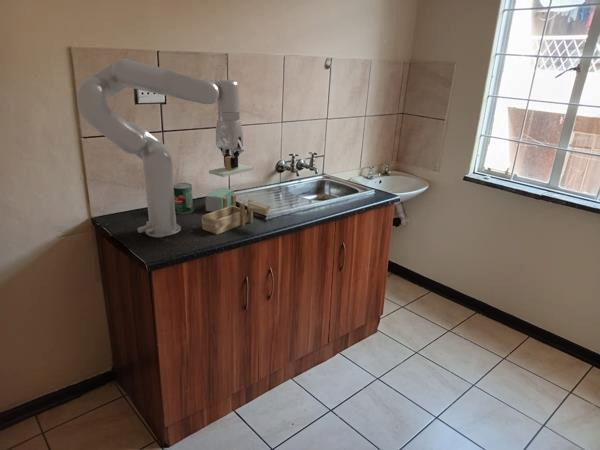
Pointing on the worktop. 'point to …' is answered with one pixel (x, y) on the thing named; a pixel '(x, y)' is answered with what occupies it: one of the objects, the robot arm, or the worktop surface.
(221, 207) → the box
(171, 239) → the worktop surface
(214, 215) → the toolbox
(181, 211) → the canned tomato
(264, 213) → the tan wooden block
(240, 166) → the lid
